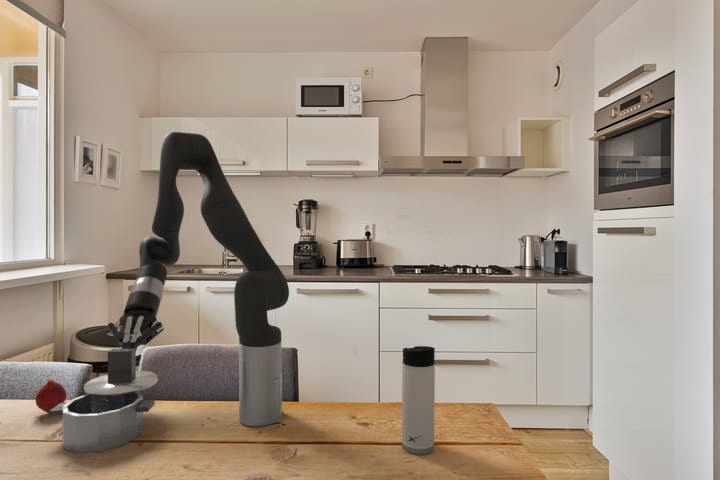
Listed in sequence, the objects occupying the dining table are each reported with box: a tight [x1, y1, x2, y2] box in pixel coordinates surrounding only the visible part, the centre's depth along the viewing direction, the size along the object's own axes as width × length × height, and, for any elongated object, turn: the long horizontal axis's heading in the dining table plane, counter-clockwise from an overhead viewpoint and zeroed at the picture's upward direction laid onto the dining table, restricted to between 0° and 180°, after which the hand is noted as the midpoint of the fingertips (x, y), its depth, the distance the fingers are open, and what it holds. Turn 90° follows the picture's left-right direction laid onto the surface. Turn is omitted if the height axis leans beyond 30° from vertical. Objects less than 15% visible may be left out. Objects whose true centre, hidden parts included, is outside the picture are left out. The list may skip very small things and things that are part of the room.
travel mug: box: [401, 345, 436, 456], centre depth 87 cm, size 6×7×20 cm
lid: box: [83, 348, 159, 397], centre depth 100 cm, size 15×15×8 cm
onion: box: [35, 378, 67, 414], centre depth 102 cm, size 6×6×8 cm
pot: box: [49, 391, 156, 454], centre depth 91 cm, size 19×14×7 cm
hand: (126, 359), depth 102 cm, fingers closed
